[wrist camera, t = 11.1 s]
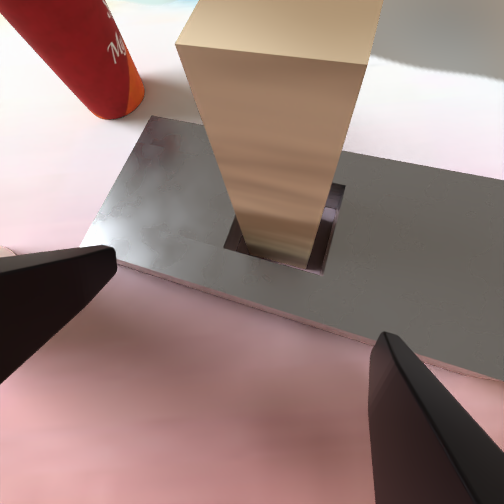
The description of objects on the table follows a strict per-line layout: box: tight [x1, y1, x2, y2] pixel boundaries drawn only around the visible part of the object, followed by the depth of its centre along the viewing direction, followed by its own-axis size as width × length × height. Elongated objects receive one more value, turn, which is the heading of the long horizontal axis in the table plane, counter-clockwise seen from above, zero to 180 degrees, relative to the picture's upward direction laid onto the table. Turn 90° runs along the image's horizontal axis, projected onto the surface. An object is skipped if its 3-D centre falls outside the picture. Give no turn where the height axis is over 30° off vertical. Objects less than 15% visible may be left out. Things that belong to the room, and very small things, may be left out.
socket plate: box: [80, 116, 504, 382], centre depth 18 cm, size 11×24×3 cm, turn 72°
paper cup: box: [0, 0, 145, 119], centre depth 19 cm, size 8×8×14 cm
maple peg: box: [175, 0, 383, 269], centre depth 12 cm, size 4×4×14 cm
